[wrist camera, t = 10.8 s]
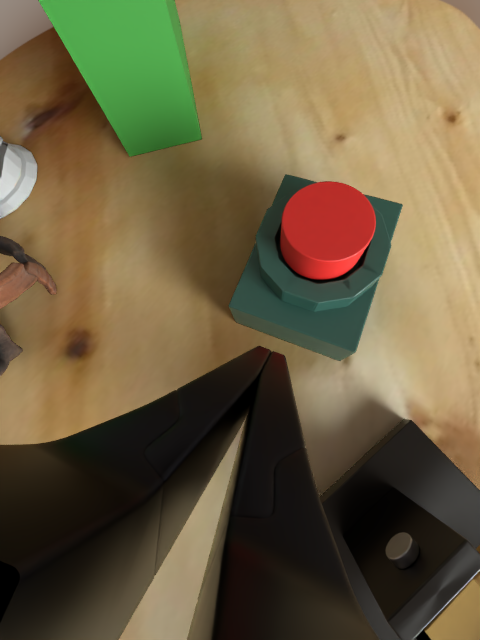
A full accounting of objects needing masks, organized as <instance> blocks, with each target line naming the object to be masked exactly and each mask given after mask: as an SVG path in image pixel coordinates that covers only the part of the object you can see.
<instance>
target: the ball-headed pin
mask: <svg viewBox="0 0 480 640" xmlns="http://www.w3.org/2000/svg"><path fill="white" fill-rule="evenodd" d="M36 180H37V163H36V161H35V159H34V157H33V155H32V153H31V152H30V151H28V150H27V149H25V148H24V147H22V146H21V145H15V144H8V143H6V142H4V141H3V139H2V137H1V136H0V219H1V218H2V217H4V216H6V215H8V214H9V213H11V212H13V211H15V210H16V209H17V208H18V207H19V206H20V205H21V204H22V203H23V202H24V201H25V199H26V198H27V197H28V196H29V195H30V193H31V190H32V188H33V186H34V184H35V182H36Z"/></svg>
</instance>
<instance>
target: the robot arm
mask: <svg viewBox="0 0 480 640" xmlns="http://www.w3.org/2000/svg"><path fill="white" fill-rule="evenodd" d="M246 416H247V417H246ZM245 418H246V421H245V424H244V427H243V431H242V435H241V439H240V442H239V446H238V450H237V454H236V457H235V461H234V465H233V469H232V473H231V476H230V480H229V484H228V488H227V491H226V495H225V499H224V503H223V506H222V510H221V514H220V518H219V521H218V525H217V529H216V533H215V536H214V540H213V544H212V548H211V551H210V555H209V559H208V563H207V566H206V570H205V574H204V578H203V582H202V585H201V589H200V593H199V597H198V602H197V604H196V608H195V612H194V615H193V619H192V623H191V627H190V630H189V634H188V638H187V640H380V639H379V637H378V636H377V635H376V633H375V632H374V630H373V628H372V627H371V625H370V624H369V622H368V620H367V618H366V617H365V615H364V613H363V611H362V609H361V607H360V605H359V603H358V601H357V599H356V597H355V594H354V592H353V590H352V588H351V585H350V582H349V579H348V577H347V574H346V571H345V568H344V566H343V563H342V560H341V557H340V554H339V552H338V549H337V546H336V543H335V540H334V537H333V535H332V532H331V529H330V526H329V523H328V521H327V518H326V515H325V512H324V509H323V506H322V503H321V500H320V497H319V494H318V491H317V488H316V485H315V482H314V478H313V474H312V470H311V466H310V463H309V458H308V454H307V449H306V448H305V441H304V437H303V433H302V428H301V424H300V419H299V415H298V411H297V406H296V402H295V397H294V393H293V389H292V384H291V380H290V375H289V371H288V367H287V362H286V358H285V356H284V355H282V354H280V353H277V352H274V351H273V352H271V351H270V350H269V349H267V348H264V347H261V346H257V347H255V348H253V349H251V350H250V351H248V352H246V353H244V354H242V355H240V356H238V357H236V358H235V359H233V360H231V361H229V362H227V363H225V364H223V365H221V366H220V367H218V368H216V369H214V370H212V371H210V372H208V373H206V374H205V375H203V376H201V377H199V378H197V379H195V380H193V381H191V382H190V383H188V384H186V385H184V386H182V387H180V388H178V389H177V390H174V391H172V392H171V393H169V394H167V395H165V396H163V397H161V398H159V399H157V400H155V401H153V402H151V403H149V404H147V405H145V406H142V407H140V408H138V409H135V410H133V411H131V412H128V413H126V414H123V415H121V416H119V417H116V418H114V419H111V420H109V421H106V422H104V423H101V424H99V425H96V426H94V427H91V428H89V429H86V430H84V431H81V432H79V433H76V434H74V435H71V436H68V437H66V438H62V439H59V440H55V441H51V442H46V443H40V444H26V445H0V640H118V639H119V638H120V636H121V634H122V632H123V631H124V629H125V627H126V625H127V624H128V622H129V620H130V619H131V617H132V615H133V613H134V612H135V610H136V608H137V606H138V605H139V603H140V601H141V599H142V598H143V596H144V594H145V593H146V591H147V589H148V587H149V586H150V584H151V582H152V580H153V579H154V576H155V575H156V573H157V572H158V570H159V568H160V566H161V565H162V563H163V561H164V559H165V558H166V556H167V554H168V552H169V551H170V549H171V547H172V546H173V544H174V542H175V540H176V539H177V537H178V535H179V533H180V532H181V530H182V528H183V526H184V525H185V523H186V521H187V520H188V518H189V516H190V514H191V513H192V511H193V509H194V507H195V506H196V504H197V502H198V500H199V499H200V497H201V495H202V494H203V492H204V490H205V488H206V487H207V485H208V483H209V481H210V480H211V478H212V476H213V474H214V473H215V471H216V469H217V467H218V466H219V464H220V462H221V461H222V459H223V457H224V455H225V454H226V452H227V450H228V448H229V447H230V445H231V443H232V441H233V440H234V438H235V436H236V435H237V433H238V431H239V429H240V428H241V426H242V424H243V422H244V420H245Z"/></svg>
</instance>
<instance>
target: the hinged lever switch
mask: <svg viewBox="0 0 480 640" xmlns="http://www.w3.org/2000/svg"><path fill="white" fill-rule="evenodd" d="M320 500H321V503H322V506H323V509H324V512H325V515H326V518H327V521H328V523H329V526H330V529H331V532H332V535H333V537H334V540H335V543H336V546H337V549H338V552H339V554H340V557H341V560H342V563H343V566H344V568H345V571H346V574H347V577H348V579H349V582H350V585H351V588H352V590H353V592H354V594H355V597H356V599H357V601H358V603H359V605H360V607H361V609H362V611H363V613H364V615H365V617H366V618H367V620H368V622H369V624H370V625H371V627H372V628H373V630H374V632H375V633H376V635H377V636H378V637H379V639H380V640H431V639H430V637H429V636H428V635H427V634H426V632H425V631H424V630H423V629H424V628H425V627H426V626H427V625H428V624H429V623H430V622H431V621H432V620H433V619H434V618H435V617H436V616H437V615H438V614H439V613H440V612H441V611H442V610H443V609H444V608H445V607H446V606H447V605H448V603H449V602H450V601H451V600H452V599H453V598H454V597H455V596H456V595H457V594H458V593H459V592H460V591H461V590H462V589H463V588H464V587H465V586H466V585H467V584H468V583H469V582H470V581H471V580H472V579H473V578H474V577H475V575H476V574H477V573H478V572H479V571H480V553H479V552H478V551H477V550H476V548H477V547H478V546H479V545H480V490H479V489H478V488H477V487H476V486H475V485H474V484H473V483H472V482H471V481H470V480H469V479H468V478H467V477H466V476H465V475H464V474H463V473H462V472H461V471H460V470H459V469H458V468H457V467H456V466H455V465H454V464H453V462H452V461H451V460H450V459H449V458H448V457H447V456H446V455H445V454H444V453H443V452H442V451H441V450H440V449H439V448H438V447H437V446H436V445H435V444H434V443H433V442H432V441H431V440H430V439H429V438H428V437H427V436H426V435H425V434H424V433H423V432H422V430H421V429H420V428H419V427H418V426H417V425H416V424H415V423H414V422H413V421H412V420H407V419H403V420H402V421H401V422H400V423H399V424H398V425H396V426H395V427H394V428H393V429H392V430H391V431H390V432H389V433H388V434H387V435H386V436H385V437H384V438H383V439H382V440H380V441H379V442H378V443H377V444H376V445H375V446H374V447H373V448H372V449H371V450H370V451H369V452H368V453H367V454H365V455H364V456H363V457H362V458H361V459H360V460H359V461H358V462H357V463H356V464H355V465H354V466H353V467H352V468H350V469H349V470H348V471H347V472H346V473H345V474H344V475H343V476H342V477H341V478H340V479H339V480H338V481H337V482H336V483H334V484H333V485H332V486H331V487H330V488H329V489H328V490H327V491H326V492H325V493H324V494H323V495H322V496H321V497H320Z"/></svg>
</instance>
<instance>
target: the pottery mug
mask: <svg viewBox="0 0 480 640" xmlns="http://www.w3.org/2000/svg"><path fill="white" fill-rule="evenodd" d="M0 253H1V254H4V255H9V256H13V257H14V258H15V259H16V260H17V261H18V262H20V263H14V262H13V263H11V264H10V265H9V266H8V267H7V268H6V269H5V270H4V271H2V272H1V273H0V309H1V308H3V307H4V306H6V305H7V304H8V303H10V302H12V301H14V300H15V299H17V298H18V296H19V295H20V294H22V293H23V292H24V291H26V290H27V289H29V288H30V287H31V286H32V285H33V284H34V283H35V282H36V281H38V282H40V283H41V284H43V285H44V287H45V288H46V289H47V290H48V292H49V293H50V294H56V292H57V290H56V284H55V283H54V282H53V279H52V277H51V276H50V275H49V274H48V272H47V271H46V268H45V267H44V266H43V265H41V264H40V263H39V262H37V261H36V260H35V259H33V258H32V257H30V256H28V255H26V254H25V253H24V249H23V248H22V247H21V246H20V245H19V244H18V243H16V242H14V241H13V240H11V239H8V238H6V237H2V236H0ZM21 352H22V348H21V347H20V346H18V345H16V344H15V343H14V342H13V341H12V340H10V337H9V335H8V334H7V333H6V330H5V329H4V327H3V326H2V325H1V324H0V376H1V375H2V374H3V373H4V372H5V370H6V369H7V367H8V365H9V362H10V361H11V360H13V359H14V358H15V357H17V356H18V355H19V354H20V353H21Z"/></svg>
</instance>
